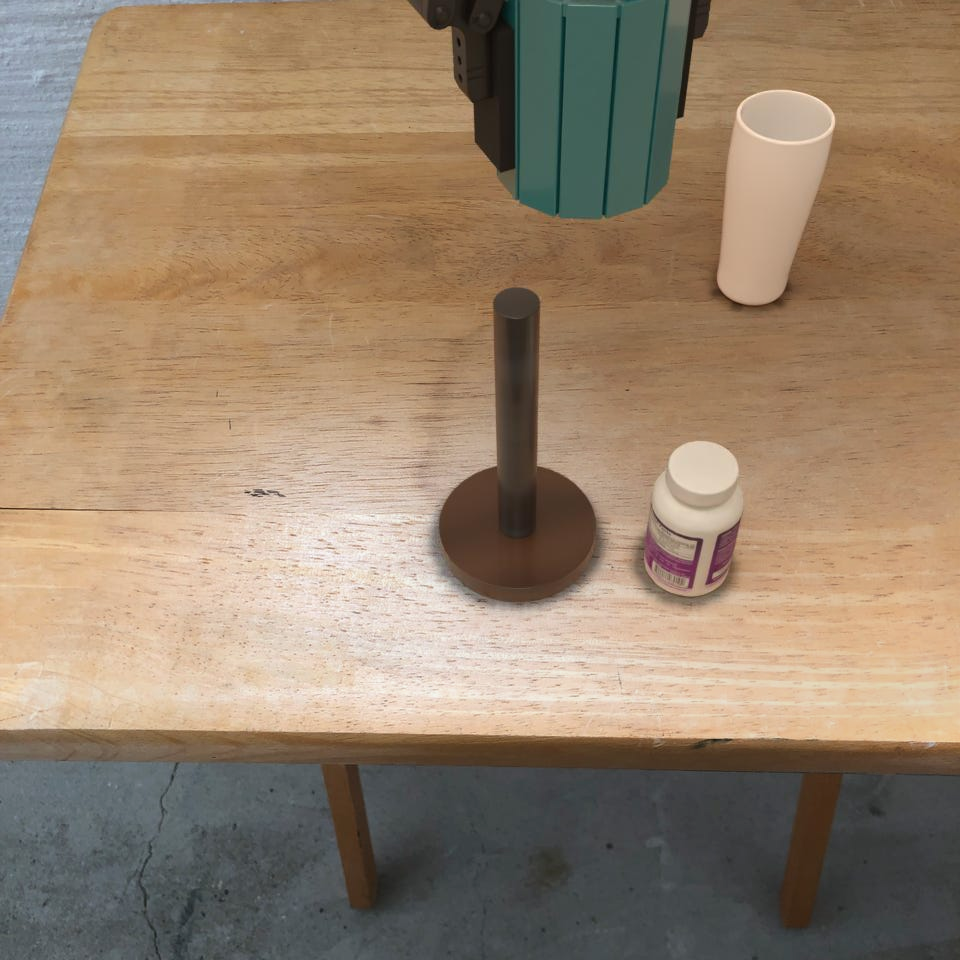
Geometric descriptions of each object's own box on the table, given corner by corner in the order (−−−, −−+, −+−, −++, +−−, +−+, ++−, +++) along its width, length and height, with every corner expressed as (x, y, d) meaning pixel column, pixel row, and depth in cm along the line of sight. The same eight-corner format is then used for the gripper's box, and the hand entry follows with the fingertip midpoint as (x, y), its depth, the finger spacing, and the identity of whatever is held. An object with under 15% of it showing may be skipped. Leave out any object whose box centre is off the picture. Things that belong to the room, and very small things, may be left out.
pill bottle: (707, 522, 71) (729, 421, 64) (741, 587, 68) (769, 489, 61) (629, 541, 71) (642, 442, 63) (660, 608, 67) (677, 512, 60)
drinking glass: (794, 262, 88) (836, 91, 76) (794, 319, 83) (838, 147, 72) (708, 254, 89) (736, 84, 77) (704, 310, 84) (733, 139, 73)
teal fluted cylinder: (700, 189, 51) (734, -26, 43) (546, 239, 49) (551, 24, 41) (614, 102, 55) (630, -105, 47) (470, 145, 53) (462, -64, 45)
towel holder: (623, 566, 69) (652, 332, 54) (479, 625, 67) (466, 398, 52) (551, 458, 75) (559, 219, 60) (416, 509, 73) (388, 273, 57)
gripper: (821, -584, 38) (726, 37, 56) (244, -513, 33) (340, 148, 50) (969, -553, 34) (815, 110, 51) (331, -466, 28) (403, 240, 46)
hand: (580, 128), depth 51 cm, fingers closed on teal fluted cylinder, 8 cm apart
